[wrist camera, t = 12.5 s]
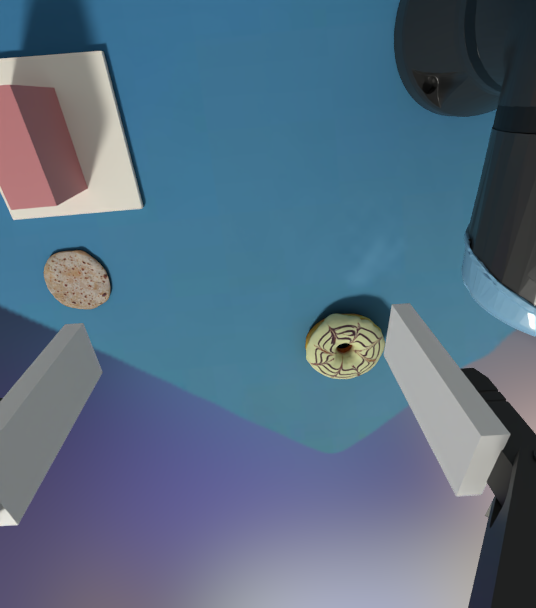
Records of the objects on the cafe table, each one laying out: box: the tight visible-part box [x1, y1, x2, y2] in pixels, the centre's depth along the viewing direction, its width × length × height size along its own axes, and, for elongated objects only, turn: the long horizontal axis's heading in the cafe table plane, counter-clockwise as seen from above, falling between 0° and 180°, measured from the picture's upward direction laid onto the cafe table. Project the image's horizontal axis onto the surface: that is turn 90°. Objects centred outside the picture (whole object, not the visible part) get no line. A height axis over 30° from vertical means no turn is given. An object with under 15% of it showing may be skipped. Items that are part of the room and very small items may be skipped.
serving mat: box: [0, 51, 144, 220], centre depth 34 cm, size 14×14×1 cm
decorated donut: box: [305, 314, 385, 379], centre depth 48 cm, size 10×11×4 cm
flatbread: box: [44, 250, 110, 309], centre depth 42 cm, size 8×8×1 cm
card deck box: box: [0, 85, 88, 210], centre depth 31 cm, size 9×4×7 cm, turn 4°
